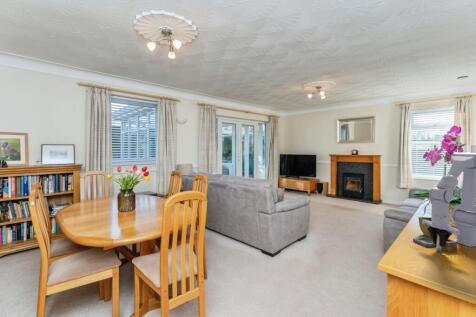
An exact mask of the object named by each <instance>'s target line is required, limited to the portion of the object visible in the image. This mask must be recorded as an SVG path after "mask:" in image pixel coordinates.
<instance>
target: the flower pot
mask: <svg viewBox="0 0 476 317" xmlns="http://www.w3.org/2000/svg"><path fill="white" fill-rule="evenodd" d="M422 220H428V221H432V216H431V217H429V216H428V217H427V216H420V217H418V224H419V226H418V227H419V228H420V229H419V230H420V231H421V232H422V234H423V235H424V236H425V237H428V238H430V239H432V236H431V234H430V232H429V231H428V229H427V228H428V227H430V226H429V225H426V224H425V225H424V224H422Z"/></svg>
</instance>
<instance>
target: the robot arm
mask: <svg viewBox="0 0 476 317" xmlns="http://www.w3.org/2000/svg"><path fill="white" fill-rule="evenodd" d="M450 163H451V165H450V168H449V170H448V172H447V174H446V175H442V176H441V178H440V180H439V181H438V182H437V184H436V186H435V187H433V188H431V189H430V190H429V193H428V197H429V199H430V200H429V201H430V202H429V203H430V204H431V218H432V221H428V220H422V224H424V225H425V224H426V225H429V226H430V227H428V228H427V229H428V231H429V232H430V234H431V236H432V238H431V239H433V243H434V244H436V237H437V233H438V235H439V245H440V246H441V247H444V246H445V245H446V242H447V240H448V239H450V237H451V236H452V235H455V236H456V237H455V238H452V239H450V240H453V241H456V242H457V244H461V245H463V246H465V247H469V248H472V247H476V152H453V153H452V154H451V156H450ZM462 173H463V175H462V188H461V198H460V204H458V205H455V206H454V207H453V211H452V213H451V219H452V220H453V222H454V224H456V228H455V227H454V226H453V227H452V226H451V225H449V221H450V220H449V219H450V202H452V200H453V198H454V190H455V188H456V187H457V185H458V183H459V180H458V178H459V176H460V175H461V174H462Z"/></svg>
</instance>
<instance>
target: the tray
mask: <svg viewBox="0 0 476 317" xmlns="http://www.w3.org/2000/svg"><path fill="white" fill-rule="evenodd" d="M412 241H413V242H414V243H417V244H419V245H422V246H424V247H426V248H435V247H436V244H434V243H433V239H432V238H429V237H427V236H424V237H423V236H422V237H415V238H413V239H412Z"/></svg>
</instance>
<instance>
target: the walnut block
mask: <svg viewBox="0 0 476 317" xmlns="http://www.w3.org/2000/svg"><path fill="white" fill-rule="evenodd" d="M442 251H445V252H454V251H455V252H456V251H458V243H457V242H456V241H453V240H451V239H450V238H448V240H447V242H446V245H445V246H444V247H442Z"/></svg>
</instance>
